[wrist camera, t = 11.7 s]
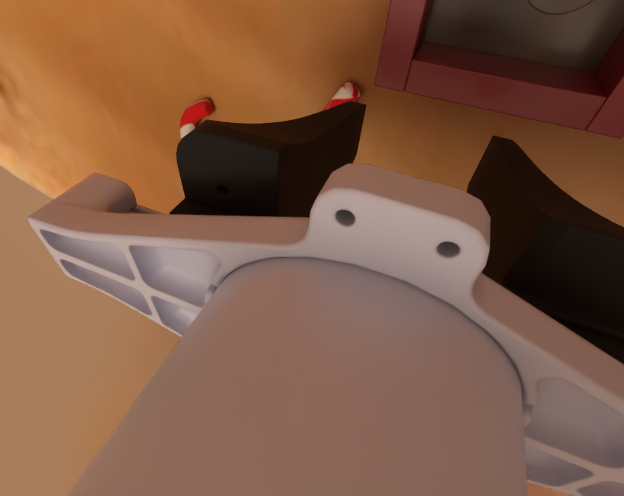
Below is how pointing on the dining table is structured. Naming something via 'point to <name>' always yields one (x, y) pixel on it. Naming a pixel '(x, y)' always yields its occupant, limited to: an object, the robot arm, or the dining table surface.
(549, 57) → the stand
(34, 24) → the dining table surface
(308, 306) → the robot arm
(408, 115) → the dining table surface
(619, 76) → the square frame
